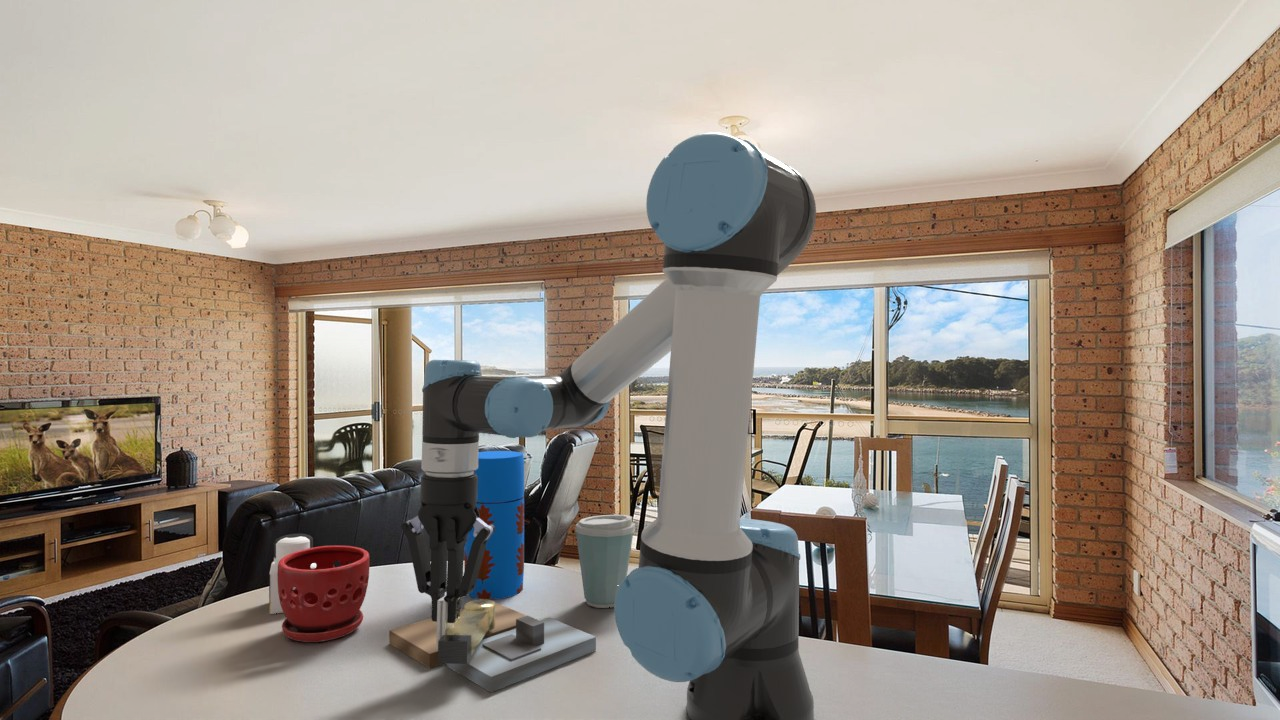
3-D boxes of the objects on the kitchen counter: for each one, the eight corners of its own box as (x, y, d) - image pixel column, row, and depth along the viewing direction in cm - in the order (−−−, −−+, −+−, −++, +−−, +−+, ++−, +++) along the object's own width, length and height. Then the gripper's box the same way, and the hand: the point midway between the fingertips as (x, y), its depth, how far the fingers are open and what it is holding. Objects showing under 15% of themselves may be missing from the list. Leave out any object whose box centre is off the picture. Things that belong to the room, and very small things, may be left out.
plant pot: (257, 644, 104) (257, 564, 104) (317, 613, 117) (317, 542, 117) (332, 653, 101) (332, 570, 101) (386, 620, 114) (386, 547, 114)
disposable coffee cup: (563, 607, 120) (563, 520, 120) (591, 588, 129) (591, 508, 129) (619, 616, 115) (619, 526, 115) (644, 596, 125) (644, 513, 125)
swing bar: (469, 621, 106) (469, 599, 106) (498, 621, 106) (498, 599, 106) (435, 665, 90) (435, 639, 90) (469, 666, 90) (469, 640, 90)
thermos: (510, 601, 123) (510, 459, 123) (454, 597, 125) (454, 457, 125) (532, 582, 133) (532, 451, 133) (480, 578, 135) (480, 450, 135)
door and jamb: (596, 650, 102) (596, 616, 102) (477, 697, 88) (477, 658, 88) (501, 609, 119) (501, 580, 119) (389, 643, 104) (389, 610, 104)
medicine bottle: (271, 601, 123) (271, 533, 123) (316, 595, 126) (316, 529, 126) (269, 615, 116) (269, 543, 116) (316, 608, 119) (316, 538, 119)
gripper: (392, 474, 93) (387, 651, 93) (482, 479, 90) (477, 661, 90) (420, 466, 100) (415, 630, 100) (504, 470, 98) (499, 639, 98)
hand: (444, 645), depth 95 cm, fingers closed
